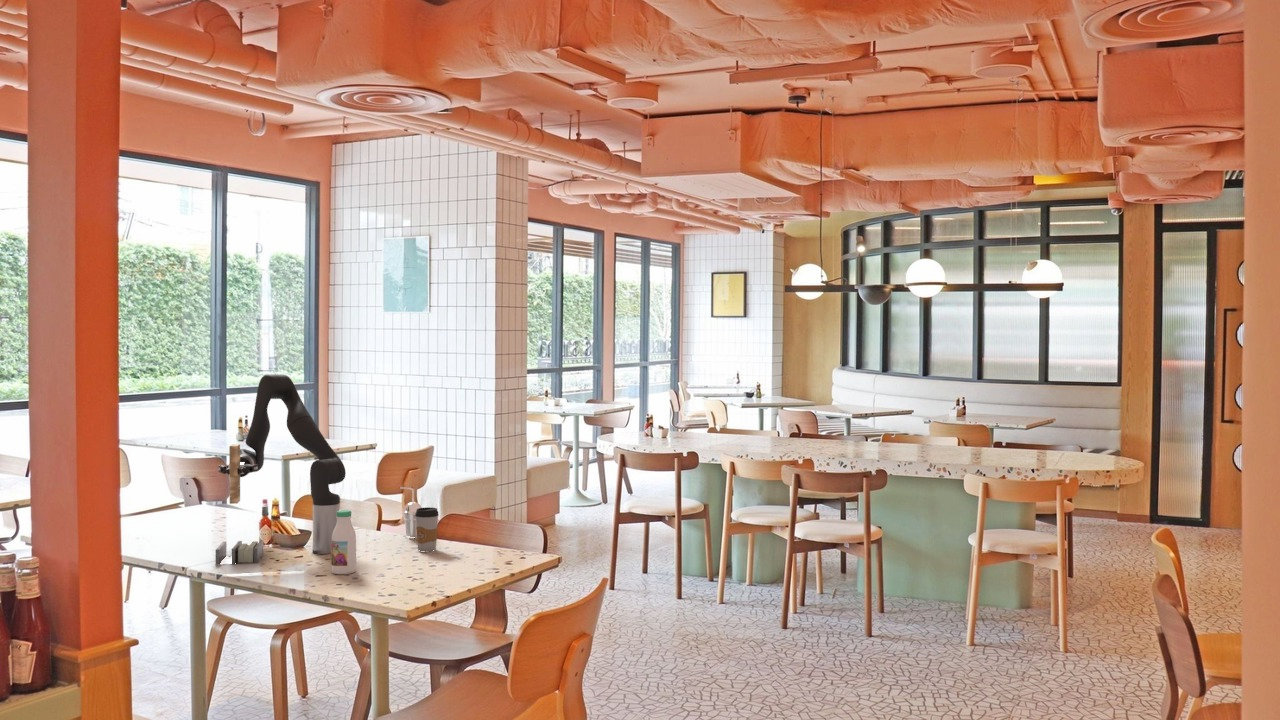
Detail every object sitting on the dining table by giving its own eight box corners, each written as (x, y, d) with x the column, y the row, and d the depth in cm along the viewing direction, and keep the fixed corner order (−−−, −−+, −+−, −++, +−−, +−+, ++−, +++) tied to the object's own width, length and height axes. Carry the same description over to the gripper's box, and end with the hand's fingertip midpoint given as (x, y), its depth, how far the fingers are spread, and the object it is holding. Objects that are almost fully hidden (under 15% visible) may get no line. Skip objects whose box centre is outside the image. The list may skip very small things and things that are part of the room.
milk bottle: (347, 568, 321) (347, 508, 320) (360, 572, 316) (361, 510, 316) (326, 572, 315) (326, 511, 314) (340, 576, 310) (340, 513, 310)
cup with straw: (421, 540, 369) (421, 487, 368) (397, 539, 369) (397, 487, 368) (426, 535, 377) (426, 484, 377) (403, 535, 377) (403, 484, 377)
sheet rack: (263, 557, 337) (263, 540, 337) (257, 566, 323) (257, 548, 323) (223, 558, 334) (223, 541, 334) (215, 567, 320) (215, 549, 320)
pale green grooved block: (257, 555, 334) (257, 541, 334) (253, 562, 325) (253, 547, 325) (242, 556, 333) (242, 541, 333) (237, 562, 323) (237, 547, 323)
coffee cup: (410, 551, 348) (410, 509, 348) (425, 547, 355) (425, 506, 355) (428, 553, 344) (428, 511, 344) (443, 549, 351) (443, 508, 351)
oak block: (240, 500, 342) (240, 444, 341) (237, 503, 336) (237, 446, 335) (232, 500, 341) (232, 444, 341) (229, 503, 336) (229, 446, 335)
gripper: (221, 455, 351) (212, 461, 334) (262, 454, 354) (255, 460, 337) (221, 476, 351) (212, 482, 334) (262, 475, 354) (255, 481, 338)
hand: (233, 471), depth 336 cm, fingers closed on oak block, 2 cm apart
